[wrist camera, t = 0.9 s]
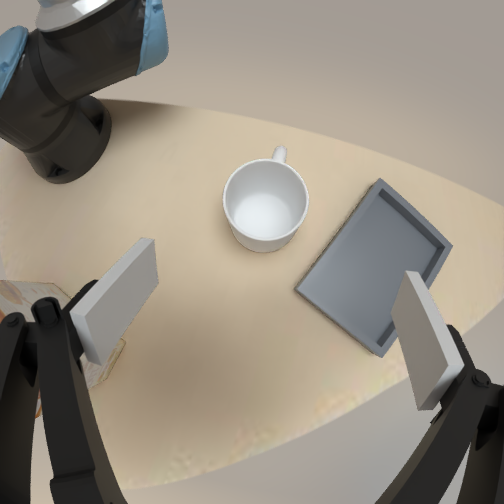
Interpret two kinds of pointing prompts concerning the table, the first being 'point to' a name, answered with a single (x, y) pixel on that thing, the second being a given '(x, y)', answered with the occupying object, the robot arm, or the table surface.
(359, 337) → the tray
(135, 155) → the table surface
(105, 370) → the coffeecake box
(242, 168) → the mug
